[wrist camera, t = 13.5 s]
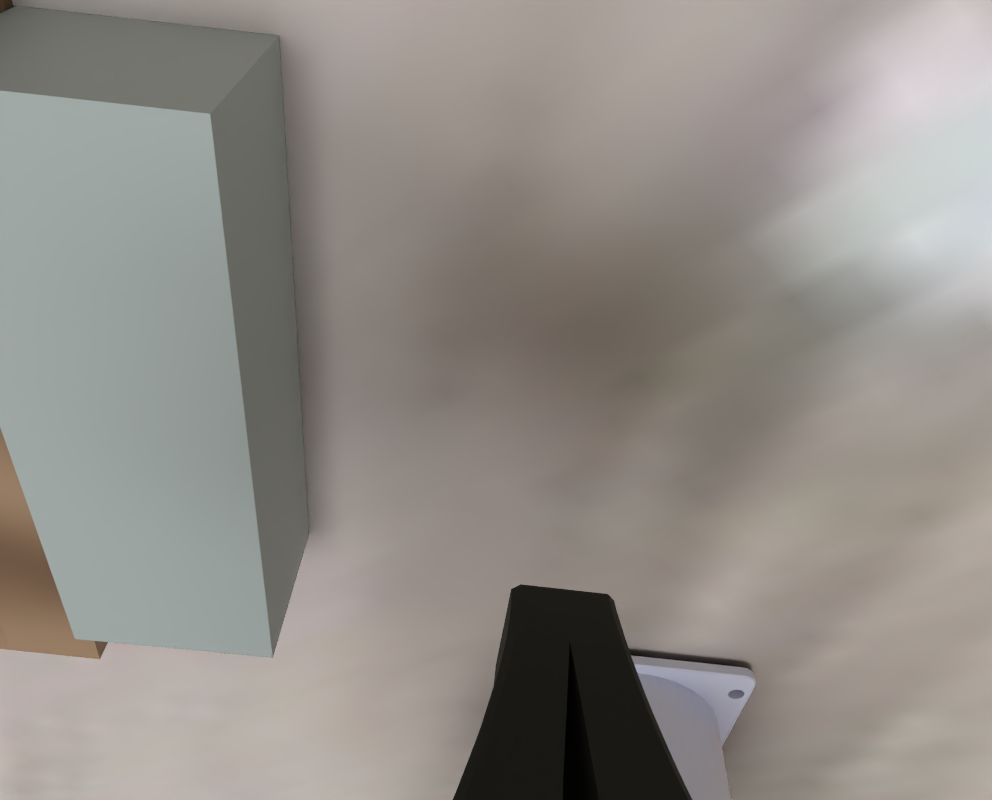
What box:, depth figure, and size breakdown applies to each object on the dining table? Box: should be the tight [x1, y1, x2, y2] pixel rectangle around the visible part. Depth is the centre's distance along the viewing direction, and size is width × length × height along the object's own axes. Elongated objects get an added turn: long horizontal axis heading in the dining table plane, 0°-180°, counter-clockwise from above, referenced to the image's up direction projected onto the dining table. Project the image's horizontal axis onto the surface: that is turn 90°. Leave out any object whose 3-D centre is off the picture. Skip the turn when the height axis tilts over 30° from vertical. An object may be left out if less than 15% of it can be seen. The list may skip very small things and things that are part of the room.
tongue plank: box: [0, 6, 309, 658], centre depth 19 cm, size 14×6×4 cm, turn 174°
